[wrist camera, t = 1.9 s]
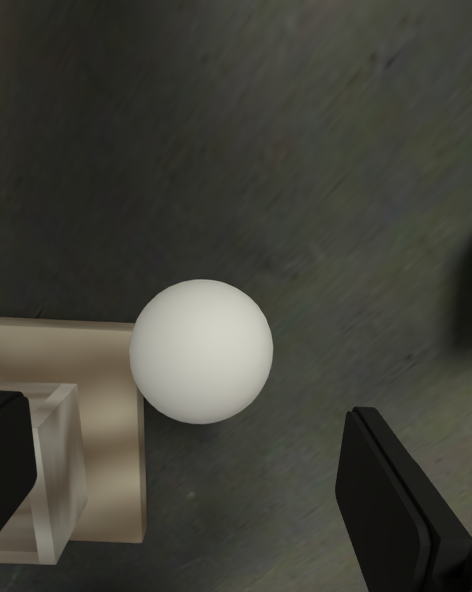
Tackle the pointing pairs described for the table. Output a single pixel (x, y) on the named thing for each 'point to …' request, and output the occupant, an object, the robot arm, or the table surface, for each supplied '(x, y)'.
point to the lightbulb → (201, 351)
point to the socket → (75, 436)
